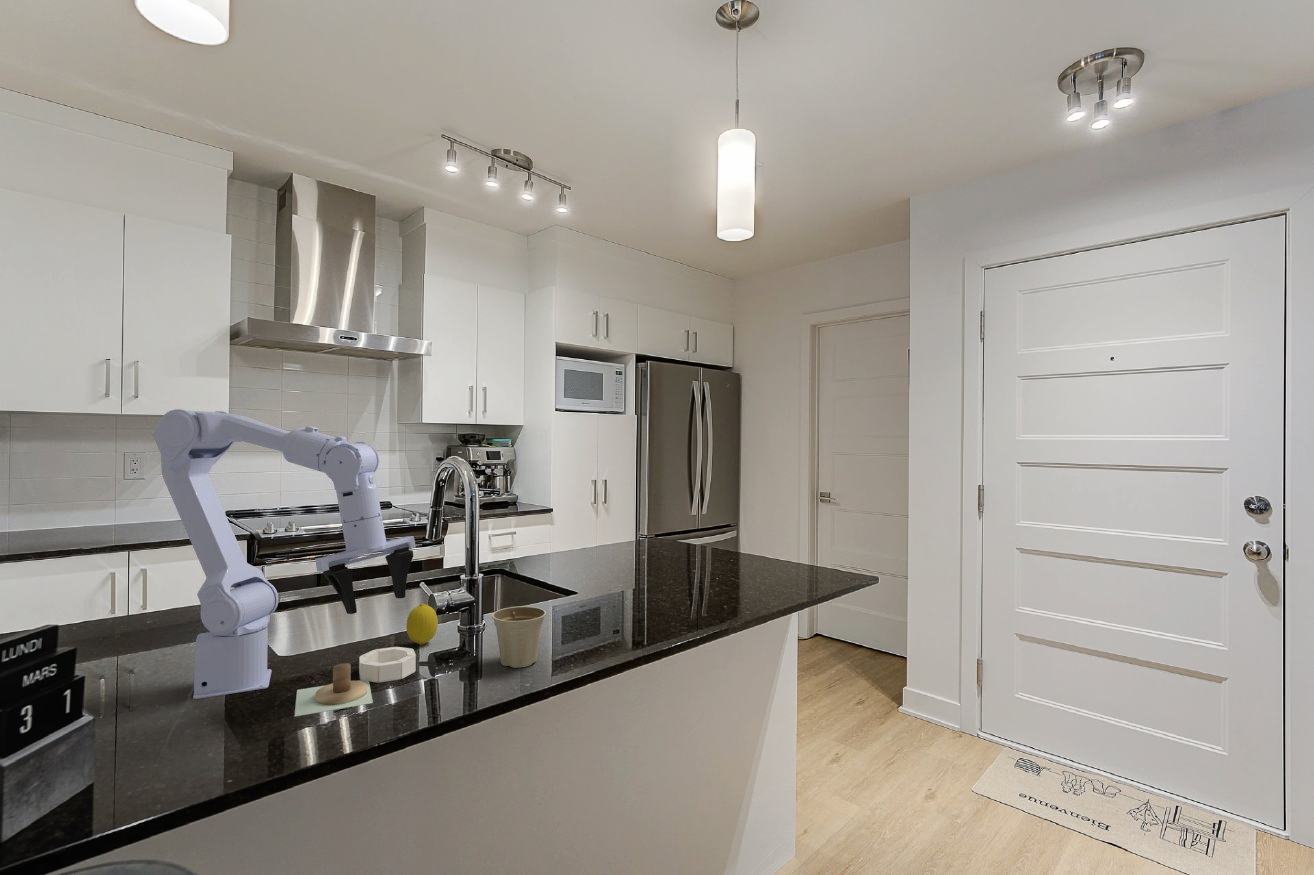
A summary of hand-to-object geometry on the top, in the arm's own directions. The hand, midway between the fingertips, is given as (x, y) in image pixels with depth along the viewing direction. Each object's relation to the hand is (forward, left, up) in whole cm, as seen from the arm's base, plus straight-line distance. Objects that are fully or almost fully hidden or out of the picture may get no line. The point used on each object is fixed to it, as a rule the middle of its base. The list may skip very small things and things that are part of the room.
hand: (376, 605), depth 97 cm
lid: (-5, -1, -13) cm, 14 cm away
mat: (-6, -1, -13) cm, 15 cm away
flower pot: (+23, +2, -14) cm, 27 cm away
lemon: (+9, +18, -14) cm, 25 cm away
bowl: (+2, +6, -13) cm, 15 cm away
